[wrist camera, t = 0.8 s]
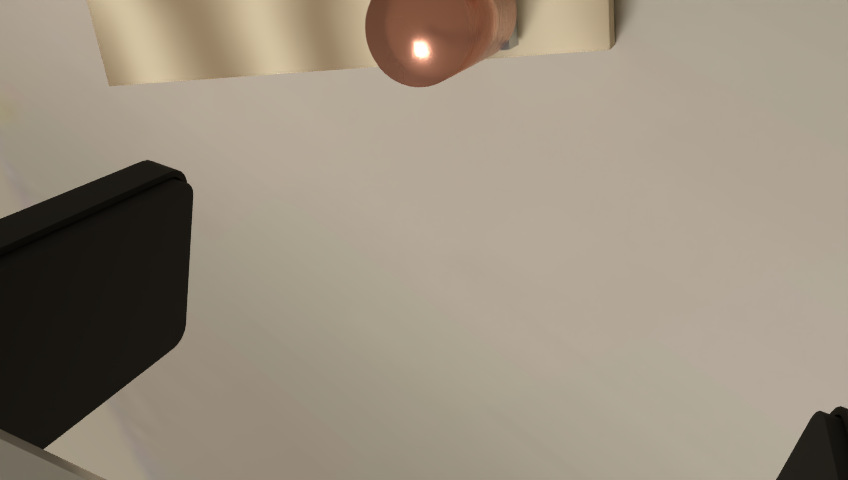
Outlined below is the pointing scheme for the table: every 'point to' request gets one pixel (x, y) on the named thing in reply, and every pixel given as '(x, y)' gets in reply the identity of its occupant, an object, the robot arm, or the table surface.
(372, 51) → the lever
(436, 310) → the table surface
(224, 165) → the table surface
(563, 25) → the board
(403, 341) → the table surface
